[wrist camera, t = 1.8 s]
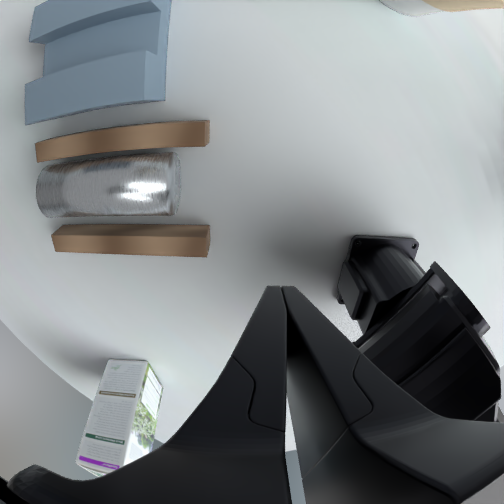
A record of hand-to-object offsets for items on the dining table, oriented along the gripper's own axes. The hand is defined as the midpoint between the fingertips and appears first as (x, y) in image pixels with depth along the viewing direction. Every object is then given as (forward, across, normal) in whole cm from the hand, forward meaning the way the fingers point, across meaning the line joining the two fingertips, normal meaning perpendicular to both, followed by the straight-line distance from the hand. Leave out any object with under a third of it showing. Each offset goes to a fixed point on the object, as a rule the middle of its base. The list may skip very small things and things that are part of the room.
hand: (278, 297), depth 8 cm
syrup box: (+12, +14, +22) cm, 29 cm away
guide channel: (+12, +10, 0) cm, 15 cm away
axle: (+10, +10, -1) cm, 14 cm away
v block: (+12, +11, -10) cm, 19 cm away
